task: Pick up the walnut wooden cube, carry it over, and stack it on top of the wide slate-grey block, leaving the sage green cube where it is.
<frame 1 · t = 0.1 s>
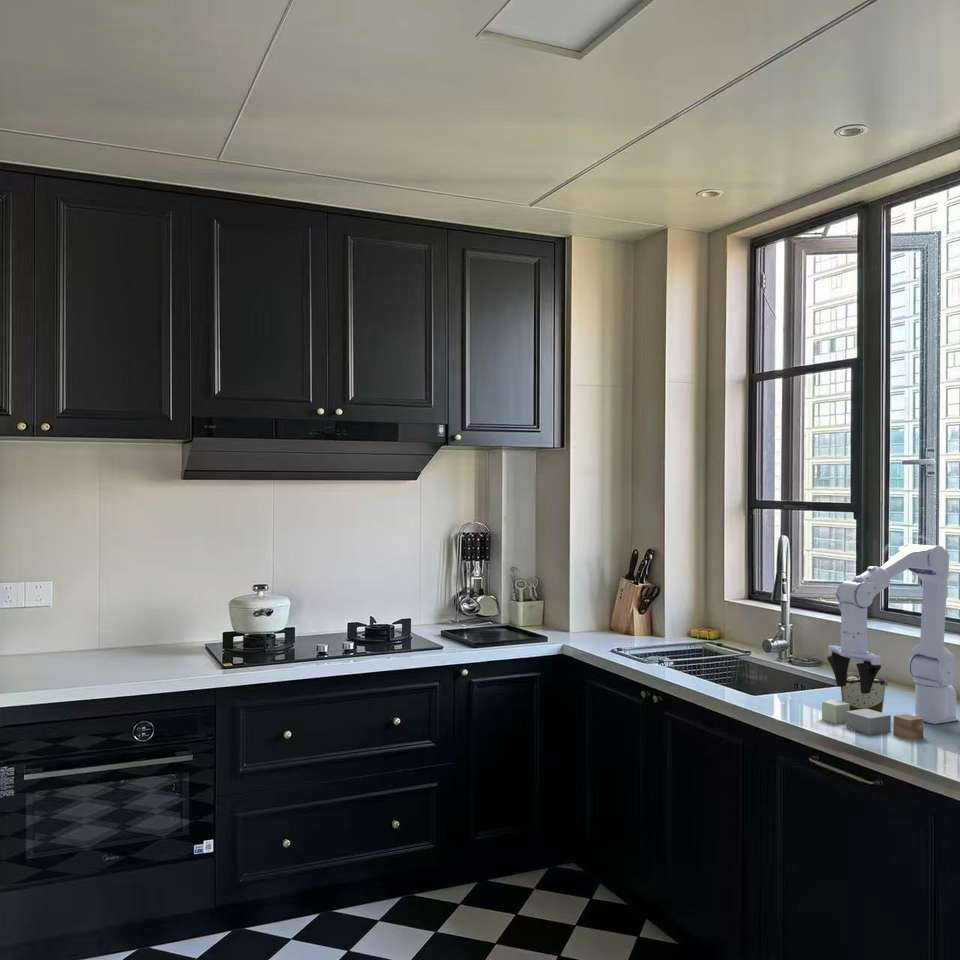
hand: (853, 689, 216), 10 cm above the worktop, fingers open, 7 cm apart
slate block: (868, 730, 218), on the worktop
sage cube: (835, 720, 226), on the worktop
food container: (858, 714, 232), on the worktop
walnut cube: (908, 736, 213), on the worktop
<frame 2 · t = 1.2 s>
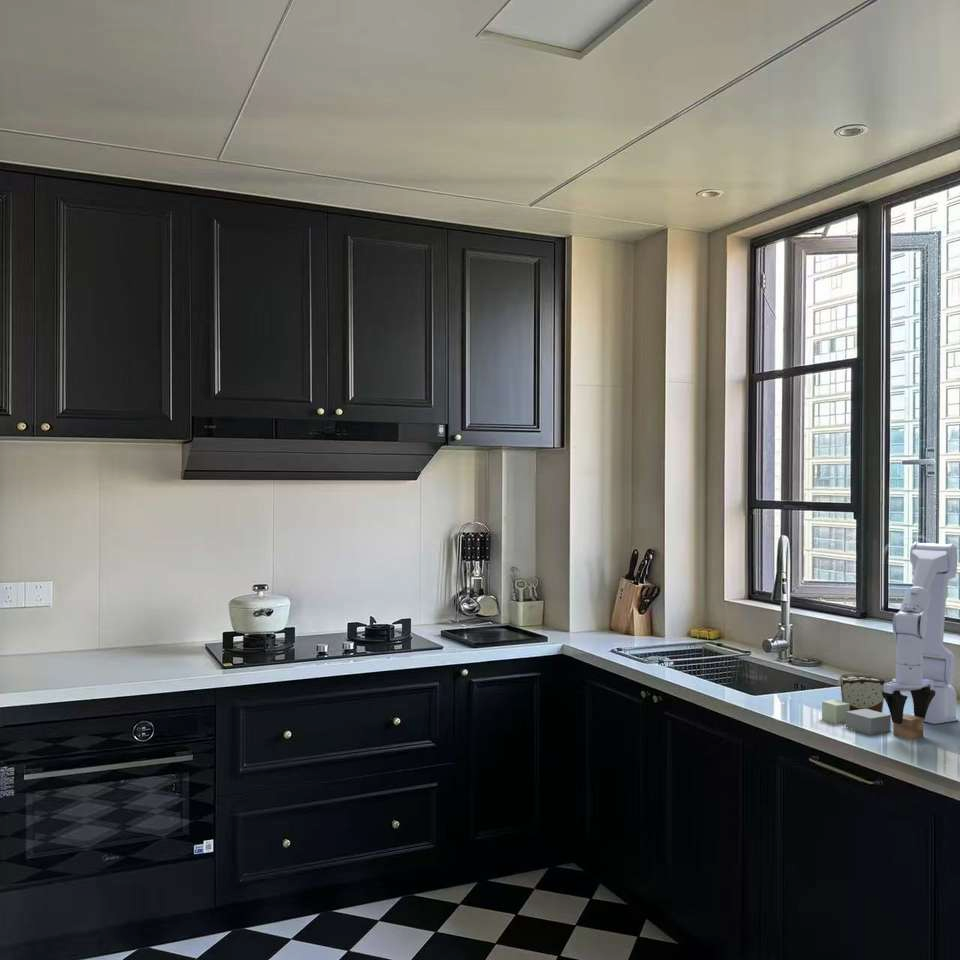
hand: (908, 721, 213), 3 cm above the worktop, fingers open, 7 cm apart
nothing on the worktop moved.
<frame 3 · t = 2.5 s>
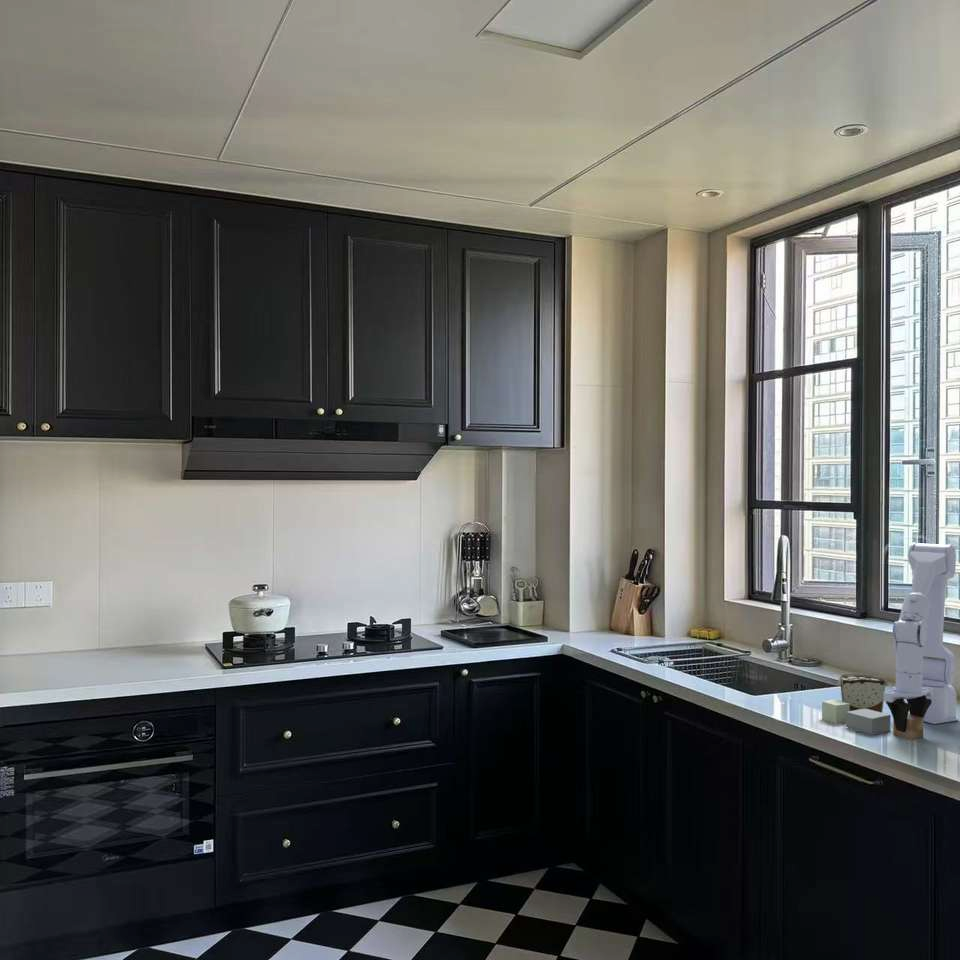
hand: (908, 729, 213), 1 cm above the worktop, fingers closed on walnut cube, 4 cm apart
walnut cube: (908, 735, 213), on the worktop, touching gripper
everything else where it was.
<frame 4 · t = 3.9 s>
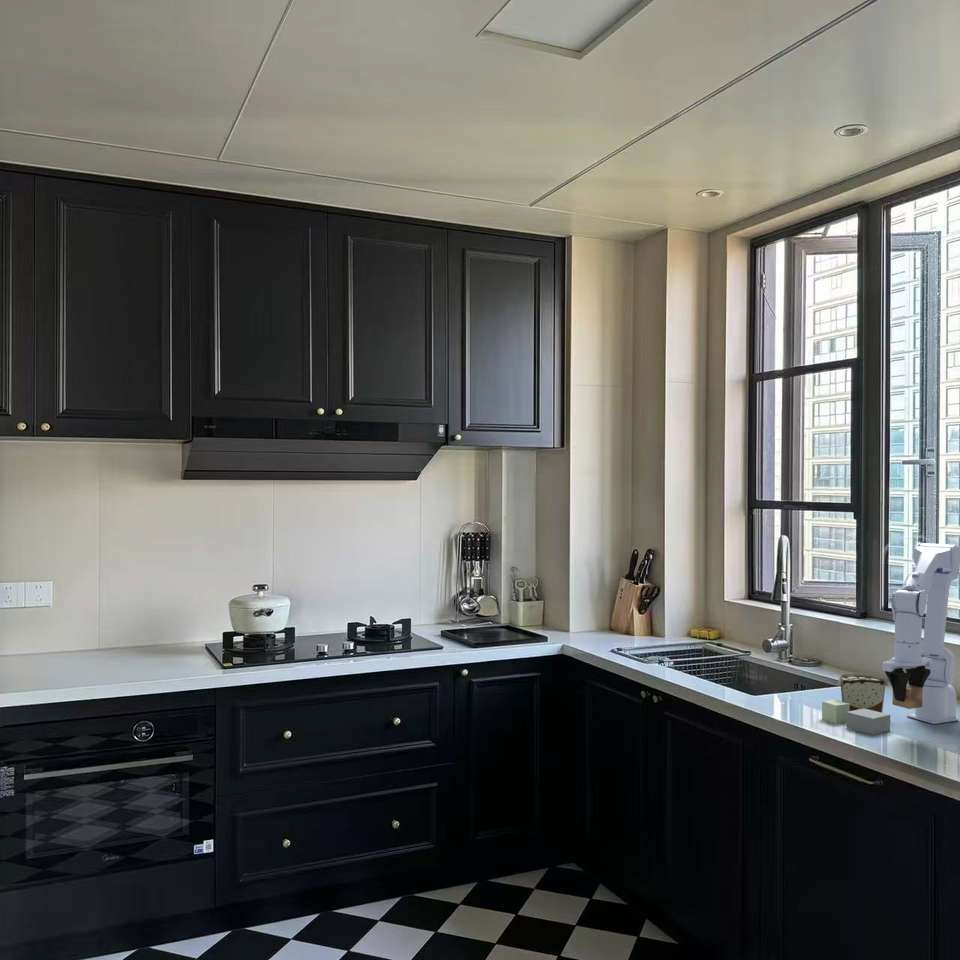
hand: (907, 699, 213), 8 cm above the worktop, fingers closed on walnut cube, 4 cm apart
walnut cube: (907, 705, 213), point 7 cm above the worktop, touching gripper
everything else where it was.
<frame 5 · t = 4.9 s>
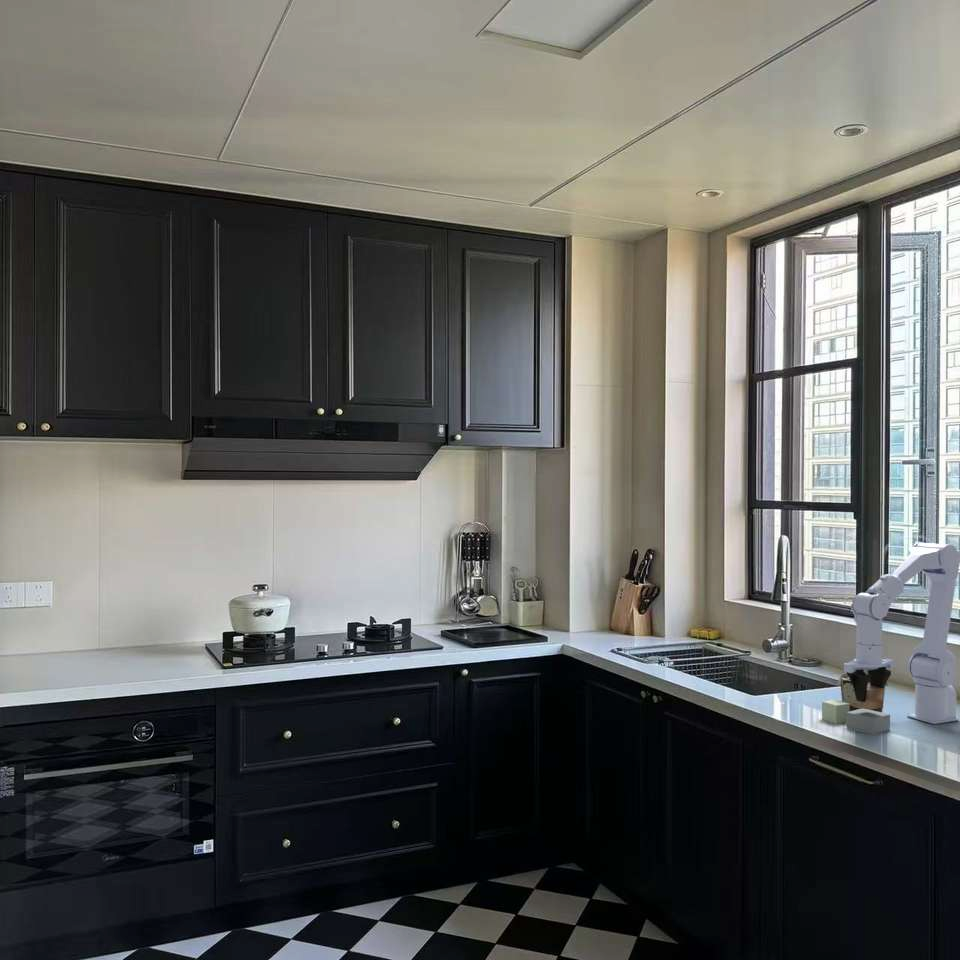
hand: (868, 700, 218), 7 cm above the worktop, fingers closed on walnut cube, 4 cm apart
walnut cube: (868, 706, 218), point 5 cm above the worktop, touching gripper
everything else where it was.
when the fingers open (7 cm above the worktop, at t = 5.6 s): walnut cube drops 2 cm, resting on slate block.
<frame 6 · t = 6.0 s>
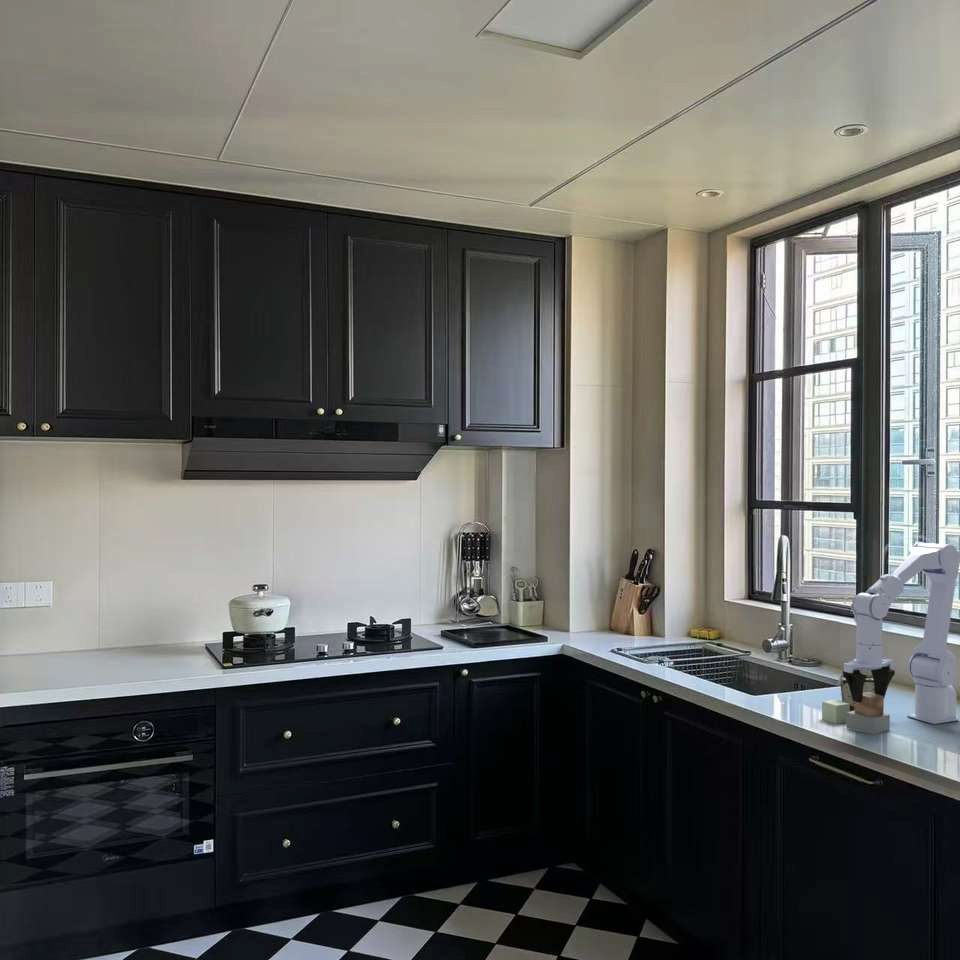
hand: (868, 700, 218), 7 cm above the worktop, fingers open, 7 cm apart
slate block: (867, 730, 218), on the worktop, touching walnut cube
walnut cube: (868, 713, 218), point 4 cm above the worktop, touching slate block
everything else where it was.
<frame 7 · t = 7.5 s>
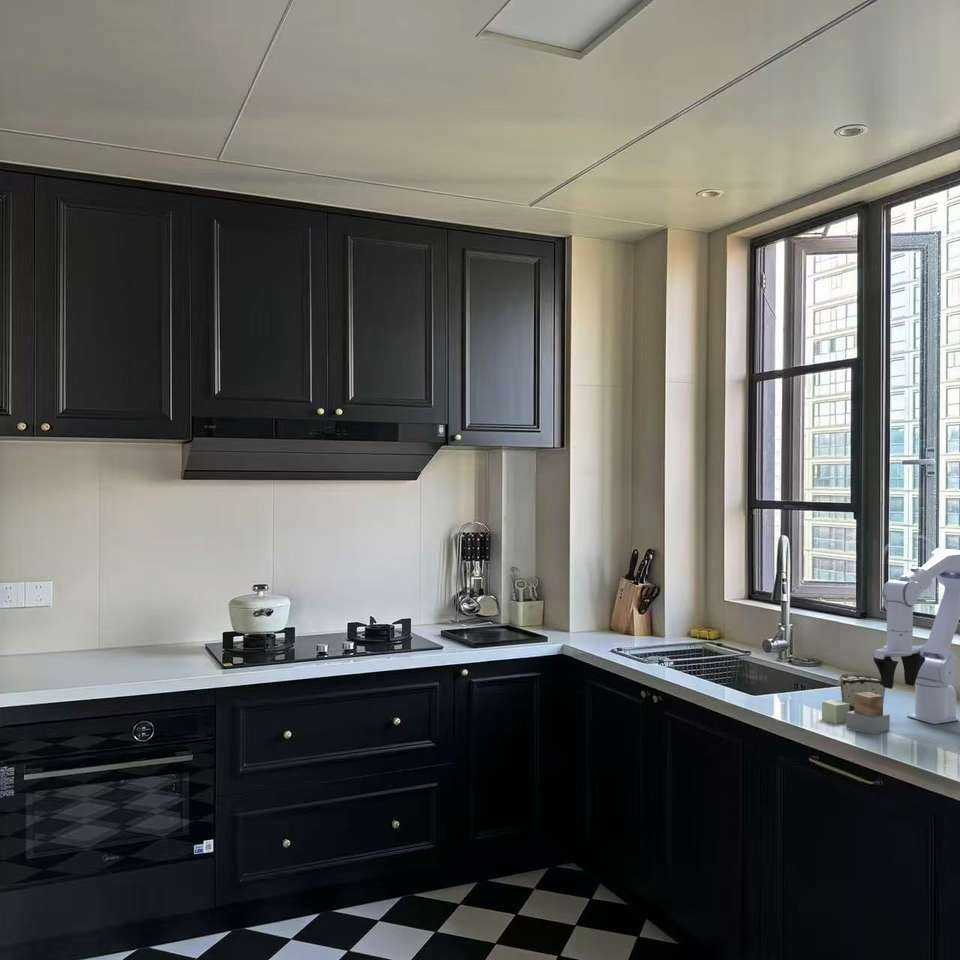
hand: (898, 686, 220), 10 cm above the worktop, fingers open, 7 cm apart
nothing on the worktop moved.
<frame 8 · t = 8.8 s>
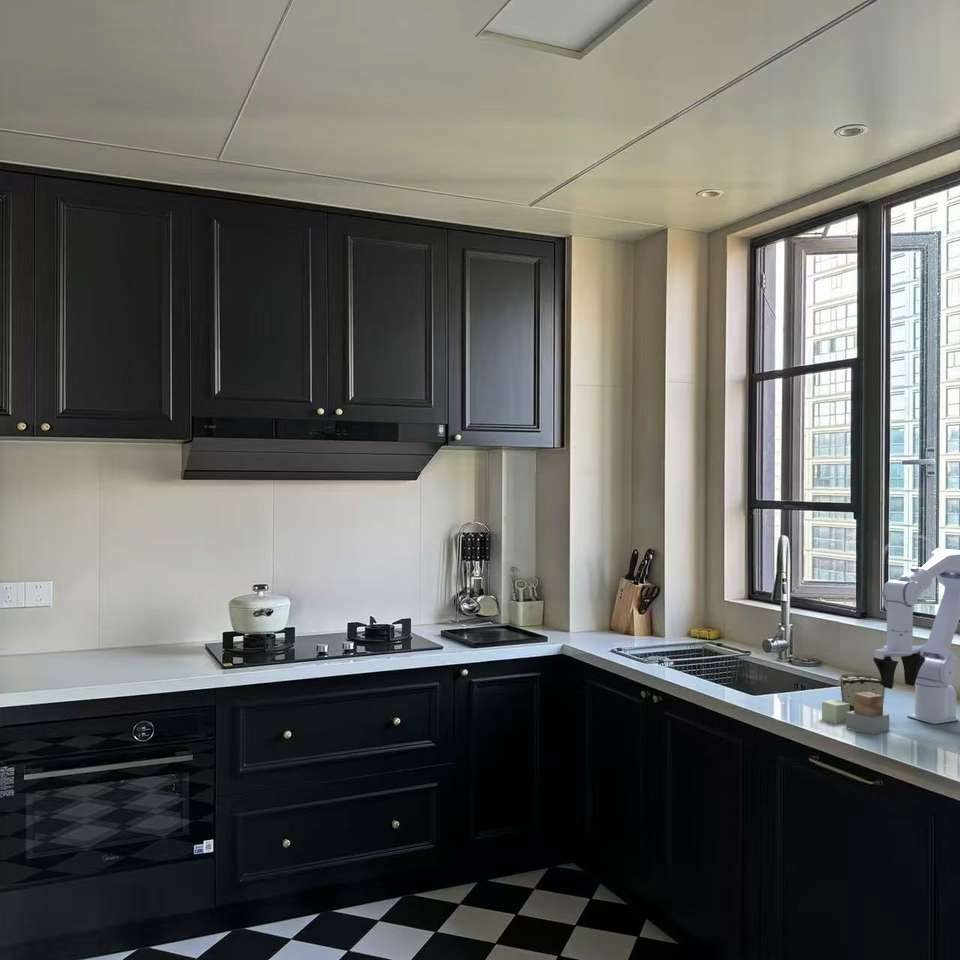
hand: (898, 686, 220), 10 cm above the worktop, fingers open, 7 cm apart
slate block: (867, 730, 218), on the worktop
walnut cube: (868, 713, 218), point 4 cm above the worktop
everything else where it was.
at the end: walnut cube 0.2 cm off-centre on the slate block, point 4.0 cm above the slate block's base; walnut cube tilted 0°; the gripper is holding nothing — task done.
